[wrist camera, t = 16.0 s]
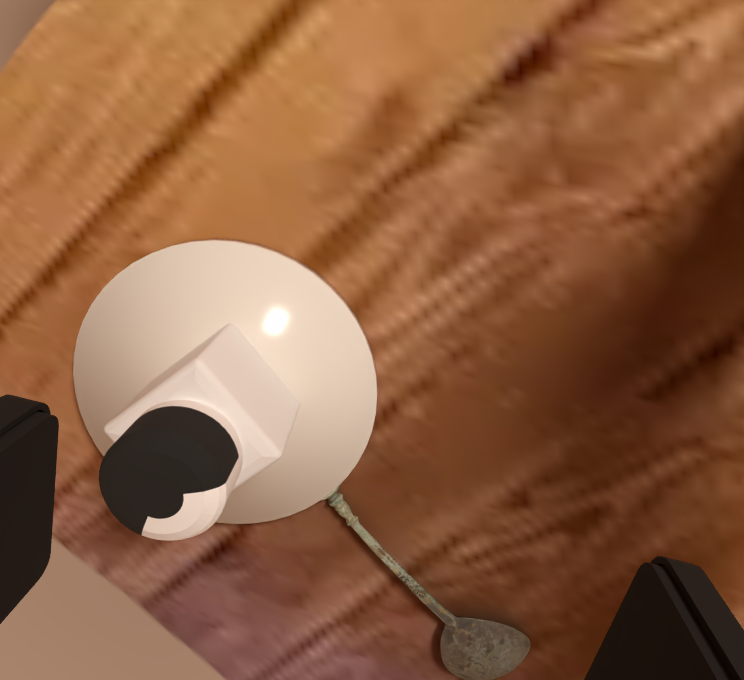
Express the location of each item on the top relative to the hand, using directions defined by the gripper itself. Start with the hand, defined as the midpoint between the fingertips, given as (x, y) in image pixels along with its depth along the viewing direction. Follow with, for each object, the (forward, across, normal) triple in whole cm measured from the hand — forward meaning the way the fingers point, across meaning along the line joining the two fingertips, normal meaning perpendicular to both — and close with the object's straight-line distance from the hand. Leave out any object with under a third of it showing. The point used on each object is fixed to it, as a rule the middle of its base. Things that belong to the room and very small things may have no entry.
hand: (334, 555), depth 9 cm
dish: (+28, +8, +12) cm, 31 cm away
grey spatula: (+29, -8, +24) cm, 38 cm away
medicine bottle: (+27, +8, +12) cm, 30 cm away
